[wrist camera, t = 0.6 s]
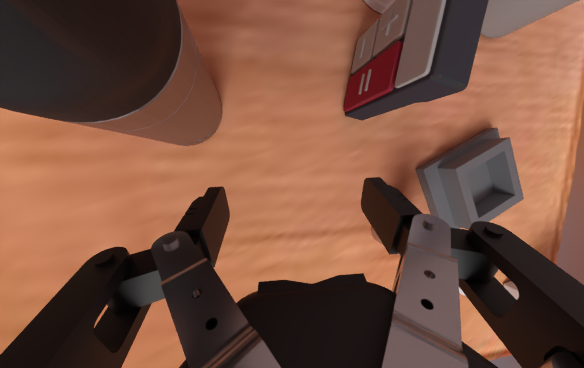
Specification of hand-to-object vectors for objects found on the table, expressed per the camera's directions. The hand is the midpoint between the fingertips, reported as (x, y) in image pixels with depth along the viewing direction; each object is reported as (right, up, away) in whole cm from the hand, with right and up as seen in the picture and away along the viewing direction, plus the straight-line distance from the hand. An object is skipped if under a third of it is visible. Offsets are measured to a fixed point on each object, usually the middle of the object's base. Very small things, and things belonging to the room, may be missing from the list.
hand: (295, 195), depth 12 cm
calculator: (+10, +16, +19) cm, 26 cm away
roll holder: (+30, +1, +25) cm, 39 cm away
